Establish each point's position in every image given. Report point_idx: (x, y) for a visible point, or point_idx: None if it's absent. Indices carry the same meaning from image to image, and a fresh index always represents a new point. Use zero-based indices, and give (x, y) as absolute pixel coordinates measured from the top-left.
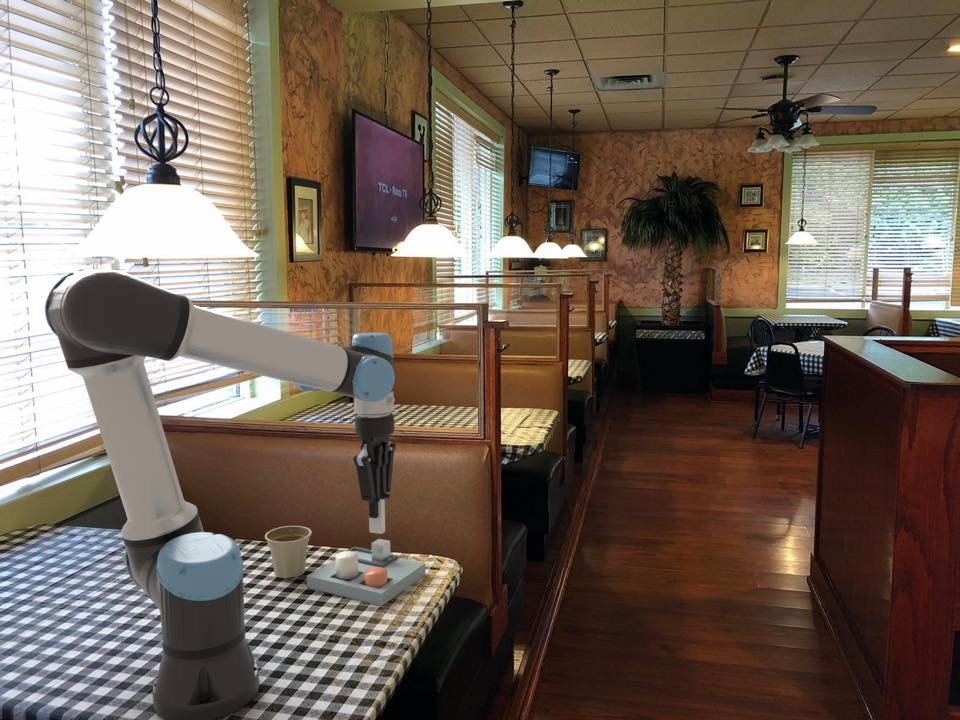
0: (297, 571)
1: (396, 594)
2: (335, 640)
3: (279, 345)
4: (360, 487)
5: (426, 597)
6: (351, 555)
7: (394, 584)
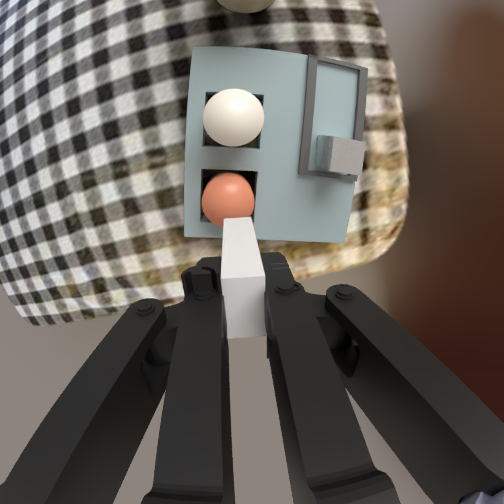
0: (231, 7)
1: None
2: (71, 228)
3: None
4: (90, 362)
5: None
6: (237, 129)
7: None
